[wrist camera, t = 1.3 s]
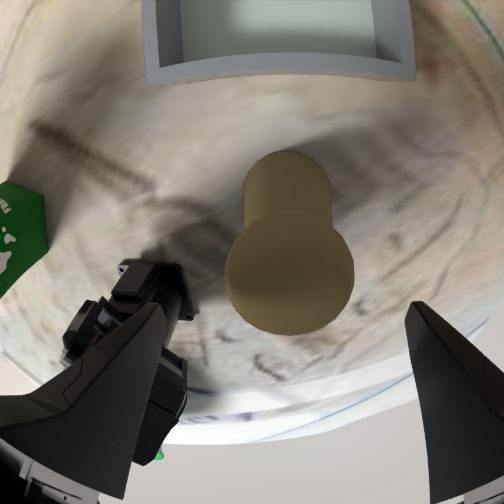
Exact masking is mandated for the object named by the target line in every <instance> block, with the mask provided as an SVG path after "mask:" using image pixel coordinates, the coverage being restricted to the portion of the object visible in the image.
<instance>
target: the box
mask: <svg viewBox="0 0 504 504" xmlns="http://www.w3.org/2000/svg"><path fill="white" fill-rule="evenodd" d="M142 28H143V45H144V58H145V70H146V80H147V85H180V84H186V83H192V82H198V81H205V80H212V79H220V78H229V77H240V76H253V75H273V74H315V75H335V76H348V77H358V78H367V79H375V80H382V81H407V80H416V62H415V47H414V36H413V27H412V19H411V12H410V6H409V0H142Z"/></svg>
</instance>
